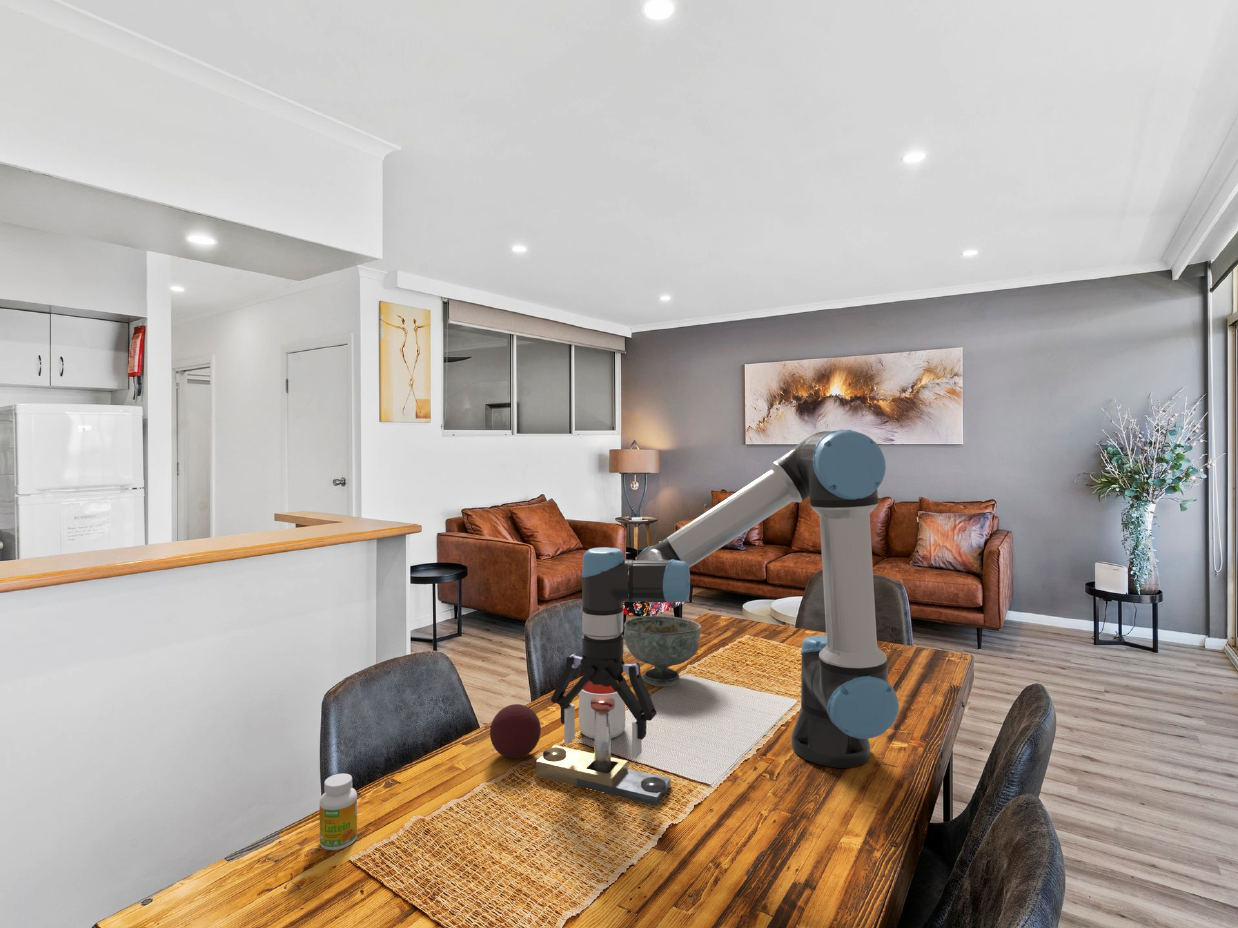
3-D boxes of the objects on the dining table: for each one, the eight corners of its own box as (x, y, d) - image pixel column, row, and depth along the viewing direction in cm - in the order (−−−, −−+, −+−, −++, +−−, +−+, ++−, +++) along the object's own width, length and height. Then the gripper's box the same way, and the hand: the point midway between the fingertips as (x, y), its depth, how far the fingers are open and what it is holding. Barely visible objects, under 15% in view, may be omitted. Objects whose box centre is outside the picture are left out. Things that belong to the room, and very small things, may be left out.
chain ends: (671, 786, 119) (671, 768, 119) (658, 805, 113) (658, 786, 113) (553, 759, 129) (553, 742, 129) (535, 776, 123) (535, 758, 122)
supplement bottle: (319, 854, 99) (318, 791, 99) (320, 835, 104) (319, 774, 104) (357, 846, 101) (357, 784, 101) (356, 827, 106) (356, 768, 106)
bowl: (711, 674, 176) (712, 619, 176) (678, 698, 160) (678, 637, 160) (647, 661, 187) (648, 609, 186) (610, 682, 171) (610, 625, 170)
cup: (620, 743, 136) (620, 696, 136) (573, 739, 138) (573, 692, 138) (629, 723, 146) (629, 679, 145) (585, 719, 148) (585, 675, 147)
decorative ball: (521, 739, 138) (521, 692, 137) (551, 755, 131) (551, 706, 130) (480, 755, 131) (479, 705, 130) (509, 773, 124) (509, 721, 123)
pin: (618, 778, 122) (618, 698, 121) (608, 789, 118) (608, 707, 117) (596, 773, 124) (597, 694, 123) (586, 784, 120) (586, 703, 119)
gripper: (674, 636, 118) (673, 752, 119) (553, 620, 128) (553, 727, 129) (660, 648, 111) (659, 771, 112) (533, 630, 121) (533, 743, 122)
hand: (602, 748), depth 121 cm, fingers open, 13 cm apart
